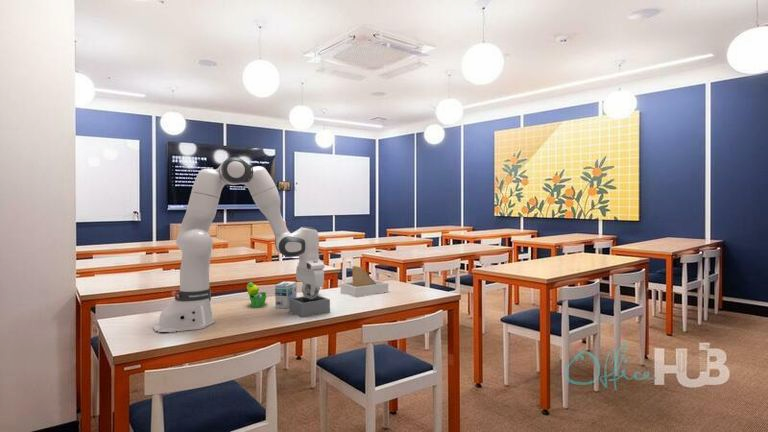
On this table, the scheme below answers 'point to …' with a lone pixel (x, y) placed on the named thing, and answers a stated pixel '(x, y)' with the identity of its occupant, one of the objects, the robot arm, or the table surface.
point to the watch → (307, 299)
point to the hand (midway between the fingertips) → (309, 293)
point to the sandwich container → (361, 277)
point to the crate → (309, 306)
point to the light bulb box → (285, 293)
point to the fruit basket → (256, 295)
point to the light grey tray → (364, 288)
